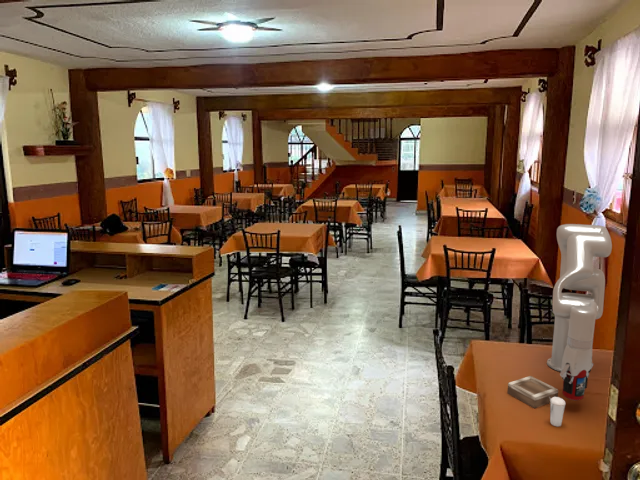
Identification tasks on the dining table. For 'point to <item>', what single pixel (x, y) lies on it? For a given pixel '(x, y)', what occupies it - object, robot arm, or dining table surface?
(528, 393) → the white square tray
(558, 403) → the milkshake
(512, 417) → the dining table surface
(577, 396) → the beverage can
